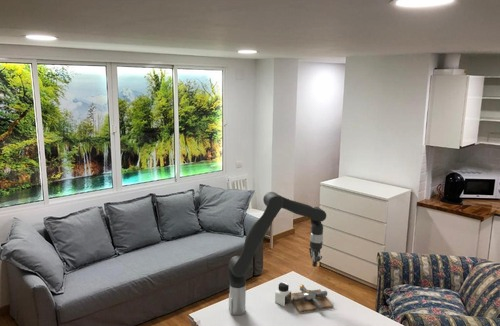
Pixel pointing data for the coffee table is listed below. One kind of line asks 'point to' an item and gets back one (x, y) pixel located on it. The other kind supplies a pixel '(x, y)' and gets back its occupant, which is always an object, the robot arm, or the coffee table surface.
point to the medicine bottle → (283, 294)
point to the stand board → (310, 303)
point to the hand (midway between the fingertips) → (314, 266)
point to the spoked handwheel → (310, 296)
